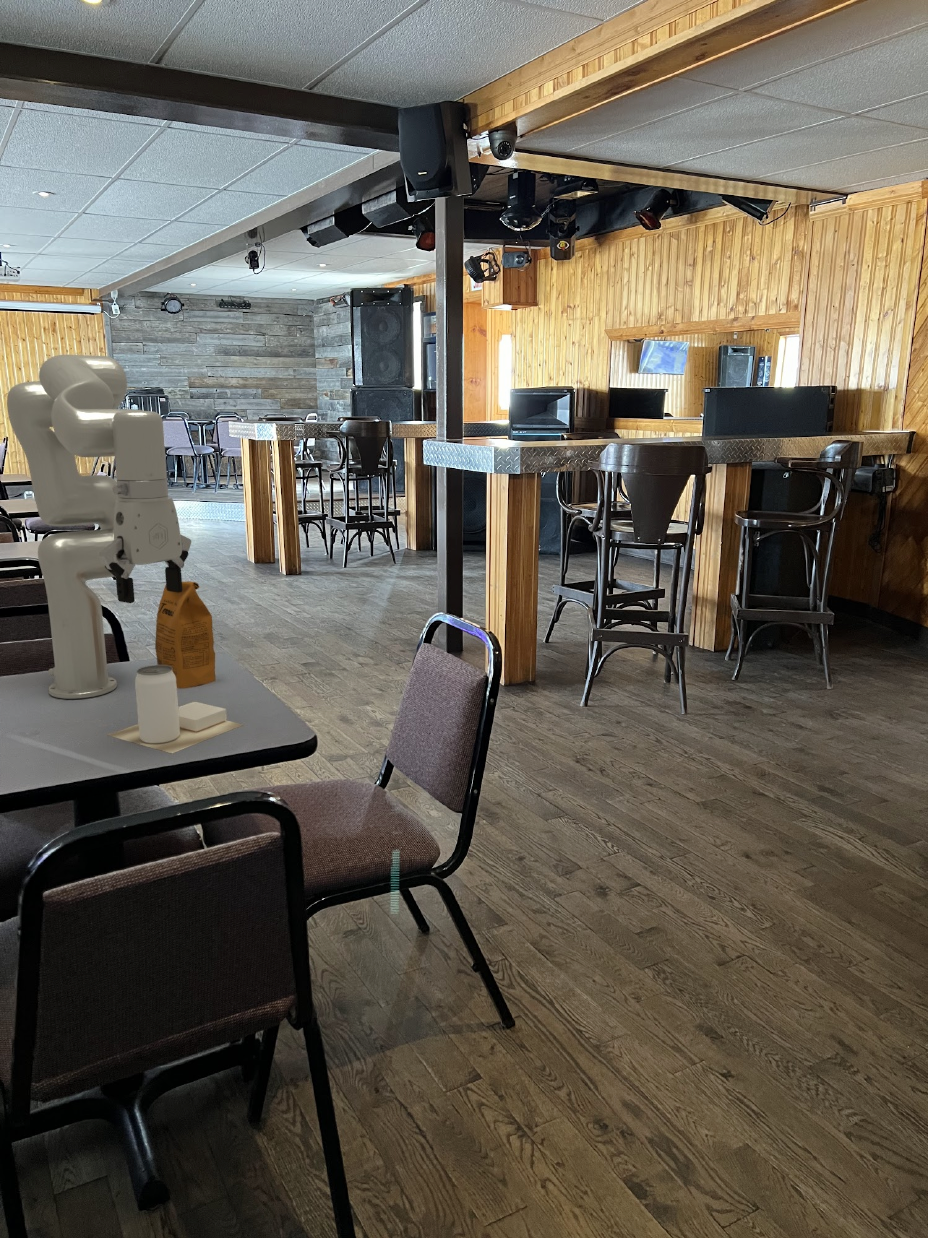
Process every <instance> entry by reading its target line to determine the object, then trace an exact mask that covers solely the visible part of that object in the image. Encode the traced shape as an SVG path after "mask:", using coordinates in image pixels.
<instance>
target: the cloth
mask: <svg viewBox="0 0 928 1238" xmlns="http://www.w3.org/2000/svg"><path fill="white" fill-rule="evenodd" d="M243 726H244V724H242V723H238V722H234V721H230V720H225V722H222V723H219V724H217V725H214V726H212V727H209V728H206V729H204V730H201V731H199V732H193V731H189V730H185V729H181V728H180V735H179V736H178V738H177V739H175V740H174V741H171V742H168V743H163V744H148V743H144V742H143V741H142V740H141V739H140V734H139V723H137V724H134V725H131V726H129V727H125V728H123V729H120V730H117V731H114V732H112V733H111V732H110V733H109V734H107V736H108V737H112V738H115V739H119V740H122V741H126V742H129V743H133V744H137V745H141V746H143V747H147V748H151V749H155V750H158V751H161V752H163V753H164V752H165V753H169V754H173V755H174V754H175V753H178V752H180V751H182V750H184V749H185V750H186V749H187V748H189V747H192V746H195V745H198V744H200V743H203V742H205V741H207V740H211V739H213V738H215V737H217V736H220V735H222V734H225V733H228V732H229V731H232V730H235V729H238V728H240V727H243Z"/></svg>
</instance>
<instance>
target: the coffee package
mask: <svg viewBox="0 0 928 1238" xmlns="http://www.w3.org/2000/svg"><path fill="white" fill-rule="evenodd" d="M198 589H200V585H199V583H197V582H195V581H183V580H182V592H180V593H177V592H171V591H167V589H166V584H165V585H164V589H163V591H162V595H161V598H160V602H159V605H158V609H157V614H156V623H155V624H156V626H155V627H156V628H155V642H154V643H155V644H154V647H155V648H154V649H155V654H156V662H157V664H156V665H168V666H171V667H172V668H173V669H172V671H173V673H174V674H175V677H176V686H177V689H189V688H195V687H198V686H202V685H207V684H211V683H213V682H216V652H215V648H214V645H215V644H214V643H215V641H214V640H215V639H214V631H213V616H212V613H211V612H210V610H209V609H208V607H207V606H206V604H205V603H204V602H203V599H201V597H200V596H199V594H198V593H197V590H198Z"/></svg>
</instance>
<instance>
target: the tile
mask: <svg viewBox="0 0 928 1238" xmlns="http://www.w3.org/2000/svg"><path fill="white" fill-rule="evenodd" d="M178 712H179V726H180V728H181V729H185V730H189V731H193V732H199V731H201V730H204V729H206V728H209V727H212V726H214V725H217V724H219V723H222V722H225V720H226V721H228V720H227V719H228V717H227V708H224V707H220V706H215V705H210V704H205V703H202V702H199V701H198V702H197V701H192V702H188V703H186V704H183V705H181V706H178Z"/></svg>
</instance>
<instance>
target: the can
mask: <svg viewBox="0 0 928 1238" xmlns="http://www.w3.org/2000/svg"><path fill="white" fill-rule="evenodd" d="M172 669H173V668H172V667H171V666H168V665H157V664H153V665H146V666H143V667H140V668H138V669H137V670H136V672H137V675H136V677H135V679H134V684H135V686H134V687H135V697H136V709H137V711H136V713H137V721H138V722H137V724H139V734H140V739H141V740H142V741H143V742H144V743H148V744H163V743H168V742H171V741H174V740H175V739H177V738H178V736H179V735H180V726H179V712H178V707H179V700H178V688H177V686H176V677H175V674H174V673H173V671H172Z"/></svg>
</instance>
